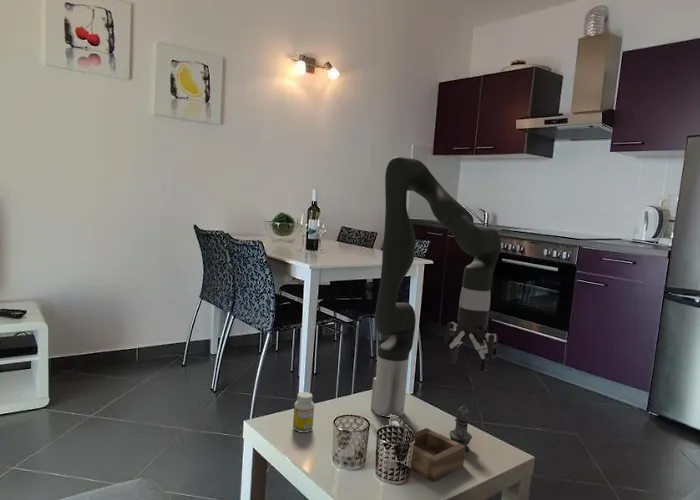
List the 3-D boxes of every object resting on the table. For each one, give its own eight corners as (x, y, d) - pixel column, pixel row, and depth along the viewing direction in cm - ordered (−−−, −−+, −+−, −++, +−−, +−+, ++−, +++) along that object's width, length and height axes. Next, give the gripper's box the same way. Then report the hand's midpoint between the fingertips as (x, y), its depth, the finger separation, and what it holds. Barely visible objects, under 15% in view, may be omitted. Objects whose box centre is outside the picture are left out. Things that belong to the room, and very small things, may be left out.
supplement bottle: (310, 434, 137) (312, 399, 136) (290, 431, 138) (292, 397, 137) (314, 425, 142) (316, 392, 141) (295, 423, 143) (297, 389, 142)
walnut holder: (394, 460, 127) (396, 440, 126) (424, 446, 135) (426, 427, 135) (433, 482, 118) (435, 461, 118) (463, 465, 127) (465, 446, 126)
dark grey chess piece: (471, 455, 132) (475, 410, 131) (447, 451, 134) (452, 406, 132) (470, 444, 138) (474, 401, 137) (448, 441, 139) (452, 398, 138)
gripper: (442, 301, 134) (436, 361, 136) (491, 313, 124) (483, 378, 126) (459, 298, 139) (453, 357, 141) (507, 310, 129) (499, 373, 131)
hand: (467, 367), depth 134 cm, fingers open, 8 cm apart
